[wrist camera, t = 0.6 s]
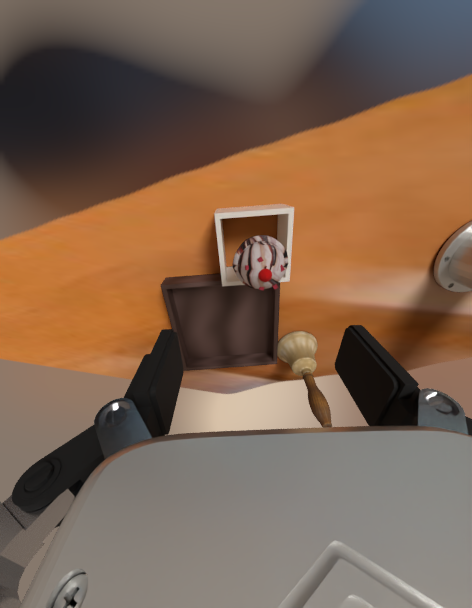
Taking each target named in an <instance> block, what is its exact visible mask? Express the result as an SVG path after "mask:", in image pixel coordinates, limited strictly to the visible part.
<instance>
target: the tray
mask: <svg viewBox="0 0 472 608" xmlns="http://www.w3.org/2000/svg"><path fill="white" fill-rule="evenodd" d="M277 286H278V288H277V289H274V288H273V286H272V287H270V288H267V289H264V290H260V289H254V288H250V287H248V286H246V285H235V286H222V279H221V274H208V275H195V276H182V277H169V278H165V280H164V281H163V283H162V284H161V288H162V292H163V296H164V300H165V303H166V307H167V311H168V315H169V318H170V322H171V326H172V329H173V330H174V332H177V334H178V340H179V345H180V351H181V357H182V363H183V371H188V370H201V369H215V368H228V367H242V366H255V365H269V364H277V350H278V324H279V298H280V282H278V283H277Z"/></svg>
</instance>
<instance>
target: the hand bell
mask: <svg viewBox="0 0 472 608" xmlns="http://www.w3.org/2000/svg"><path fill="white" fill-rule="evenodd" d="M316 350H317V341H316V339H315V337H314V336H313V335H312V334H310V333H307V332H303V331H298V332H292V333H289V334H287V335H285V336H284V337H283V338H281V339H280V341H279V342H278V350H277V356H278V357H279V358H280V359H281V360H282V361H284V362H286V363H288V364H289V365H290V367H291V369H292V371H293V372H294V373H295V374H297V375H300V376H303V379H304V381H305V383H306V386H307V389H308V400H309V404H310V407H311V410H312V412H313V414H314V416H315V417H316V418H317V420H318V421H319V422H320V424H321V425H322V427H323V428H327V427H332V424H331V414H330V409H329V405H328V403H327V401H326V399H325V397H324V395H323V394H322V392H321V391H320V390H319V389H318V387H317V386H316V383H315V380H314V378H313V375H312V372H313V371H314V370H315V369H316V361H315V357H314V354H315V352H316Z"/></svg>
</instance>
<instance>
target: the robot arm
mask: <svg viewBox="0 0 472 608" xmlns="http://www.w3.org/2000/svg"><path fill="white" fill-rule="evenodd" d="M434 277H435V280H436V282H437V283H438V284H439V285H440V286H441V287H443V288H445V289H447V290H449V291H452V292H468V291H472V221H471V222H469V223H467V224H465V225H464V226H463V227H461V228H460V229H459V230H458V231H456V232H455V233H454V234H453V235H452V236H451V237H450V238H449V239H448V241H447V242H446V243H445V244H444V246H443V247H442V249H441V250H440V252H439V254H438V256H437V258H436V261H435V265H434ZM335 369H336V371H337V372H338V374H339V376H340V378H341V379H342V381H343V383H344V384H345V386H346V388H347V389H348V391H349V393H350V394H351V396H352V398H353V399H354V401H355V403H356V405H357V406H358V408H359V410H360V411H361V413H362V415H363V417H364V418H365V420H366V422H367V423H368V425H369V426H362V427H361V426H360V427H327V428H301V429H300V428H299V429H271V430H247V431H223V432H204V433H186V434H176V435H166V434H168V433H169V431H170V426H171V422H172V418H173V414H174V410H175V406H176V401H177V397H178V393H179V389H180V385H181V381H182V376H183V363H182V357H181V351H180V345H179V340H178V334H177V332H174V330H173V329H166V330H162V331H161V332H160V335H159V337H158V339H157V341H156V343H155V345H154V348H153V350H152V352H151V354H146V355H145V356H144V358H143V360H142V362H141V364H140V366H139V368H138V370H137V372H136V374H135V376H134V378H133V380H132V382H131V384H130V386H129V388H128V390H127V392H126V394H125V396H124V398H120V399H115V400H113V401H110V402H109V403H107V404H106V405H104V406H103V407H102V408H101V409H100V410H99V412H98V413H97V415H96V417H95V420H94V425H93V426H91V427H90V428H88V429H87V430H85V431H84V432H82V433H81V434H79V435H78V436H76V437H74V438H73V439H71V440H70V441H69V442H67V443H65V444H64V445H62V446H61V447H59V448H58V449H56V450H54V451H53V452H52V453H50V454H48V455H47V456H45V457H44V458H42V459H41V460H39V461H38V462H36V463H35V464H34V465H32V466H31V467H30V468H29V469H28V470H27V471H26V472H25V473H24V474H23V475H22V476H21V477H20V479H19V480H18V482H17V483H16V485H15V487H14V490H13V492H12V495H11V496H10V497H9V498H8V499H7V500H6V501H4V502H3V503H1V502H0V608H472V419H470V418H468V417H466V416H465V413H464V410H463V408H462V407H461V406H460V404H459V403H458V402H456V401H455V400H454V399H453V398H451V397H450V396H448V395H447V394H445V393H442V392H440V391H437V390H434V389H428V388H427V389H422V390H420V389H419V388H418V387H417V386H418V383H417V382H416V381H415V380H414V379H413V378H412V377H411V376H410V374H409V373H408V372H407V371H406V370H405V369H404V368H403V367H402V366H401V365H400V364H399V363H398V362H397V361H396V360H395V359H394V358H393V357H392V356H391V355H390V354H389V353H388V352H387V351H386V350H385V349H384V348H383V347H382V345H381V344H380V343H379V342H378V341H377V340H376V339H375V338H374V337H373V336H372V335H371V334H370V333H369V332H368V331H367V330H366V329H365V328H364V327H363V326H362V325H351V326H349V327H348V328H346V330H345V332H344V336H343V339H342V342H341V345H340V349H339V352H338V355H337V358H336V362H335ZM165 435H166V436H165ZM58 526H59V528H58V530H57V532H56V534H55V536H54V538H53V540H52V542H51V544H50V546H49V548H48V550H47V552H46V554H45V556H44V558H43V560H42V562H41V564H40V566H39V568H38V571H37V573H36V575H35V576H34V579H33V581H32V583H31V585H30V587H29V589H28V591H27V593H26V595H25V597H24V599H23V601H22V603H21V602H20V600H19V596H18V592H17V591H18V586H19V581H20V578H21V576H22V574H23V572H24V569H25V568H26V566H27V565H28V563H29V562H30V561H31V559H32V558H33V556H34V555H35V554H36V553H37V552H38V550H39V549H40V548H41V547H42V546H43V545H44V543H43V540H44V539H45V538H46V537H47V536H48V535H49V533H50V532H51V531H52V530H53V529H54V528H55V527H58ZM84 574H87V575H84Z"/></svg>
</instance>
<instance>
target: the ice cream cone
mask: <svg viewBox="0 0 472 608" xmlns="http://www.w3.org/2000/svg"><path fill="white" fill-rule="evenodd" d="M287 266H288V255H287V251H286V249H285V247H284V246H283V245H282V244H281V243H280V242H279V241H277V240H276V239H274V238H273V237H270V236H266V235H259V236H254V237H251V238H249V239H247V240H245V241H244V242H243V243H242V244H241V245H240V247H239V248H238V250H237V252H236V254H235V256H234V259H233V269H234V271H235V274H236V275H237V277H238V279H239V280H240V281H241V282H242V283H243V284H245V285H246V286H248V287H250V288H254V289H260V290H264V289H267V288H270V287H272V286H273V288H274V289H277V288H278V286H277V283H278V282H279V281H280V280H281V278H282V277H283V275H284V274H285V272H286V270H287Z"/></svg>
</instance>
